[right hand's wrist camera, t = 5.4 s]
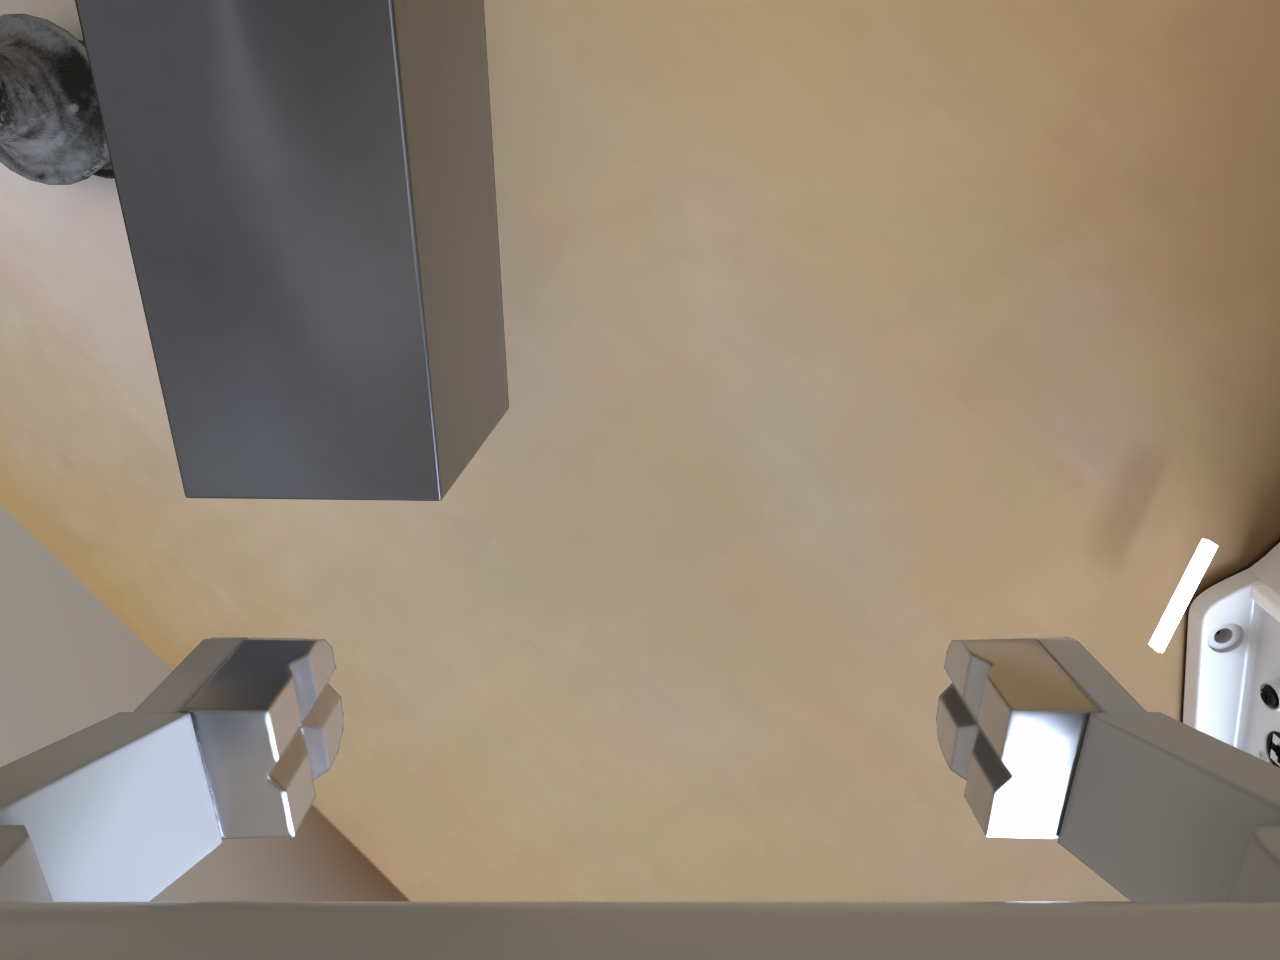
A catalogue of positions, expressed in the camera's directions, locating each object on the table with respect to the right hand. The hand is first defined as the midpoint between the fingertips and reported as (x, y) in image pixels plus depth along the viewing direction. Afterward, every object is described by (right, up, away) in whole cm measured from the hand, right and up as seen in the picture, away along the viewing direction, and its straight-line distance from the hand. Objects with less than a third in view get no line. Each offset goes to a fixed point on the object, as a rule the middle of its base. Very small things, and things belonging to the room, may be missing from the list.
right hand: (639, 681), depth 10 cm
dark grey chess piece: (-23, +18, +23) cm, 37 cm away
